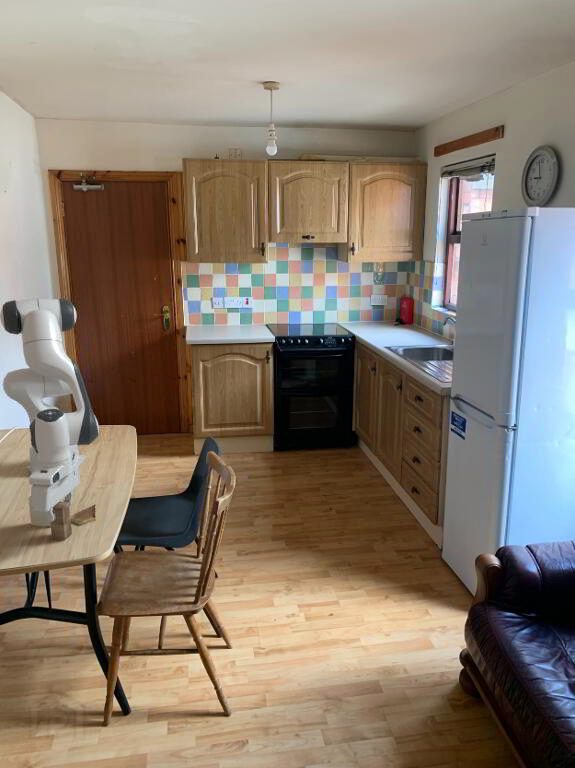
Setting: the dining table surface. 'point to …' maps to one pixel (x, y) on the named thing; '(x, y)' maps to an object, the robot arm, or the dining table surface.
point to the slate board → (37, 516)
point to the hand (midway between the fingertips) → (59, 513)
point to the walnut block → (61, 521)
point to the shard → (84, 516)
